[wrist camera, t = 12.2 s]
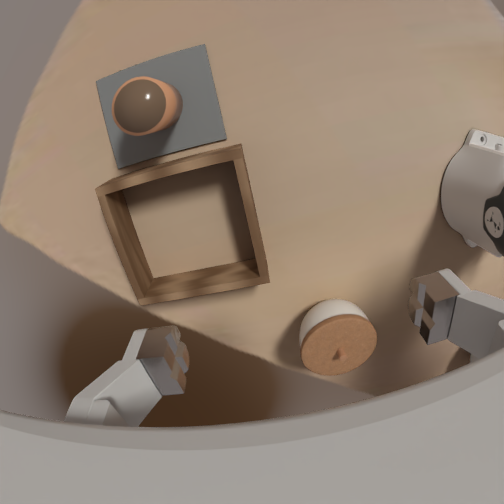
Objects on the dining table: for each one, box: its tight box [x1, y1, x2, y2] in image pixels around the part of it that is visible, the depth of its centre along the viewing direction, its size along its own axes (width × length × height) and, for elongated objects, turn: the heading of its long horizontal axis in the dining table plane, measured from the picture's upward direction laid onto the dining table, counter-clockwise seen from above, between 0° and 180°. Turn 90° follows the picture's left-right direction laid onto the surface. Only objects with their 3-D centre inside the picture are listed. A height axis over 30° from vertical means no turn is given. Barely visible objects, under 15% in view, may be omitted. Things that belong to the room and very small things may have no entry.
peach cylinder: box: [112, 76, 183, 136], centre depth 29 cm, size 6×6×7 cm
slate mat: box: [96, 44, 227, 169], centre depth 32 cm, size 14×12×1 cm
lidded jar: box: [299, 299, 377, 376], centre depth 42 cm, size 11×11×9 cm
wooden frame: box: [95, 144, 270, 306], centre depth 37 cm, size 17×16×5 cm
